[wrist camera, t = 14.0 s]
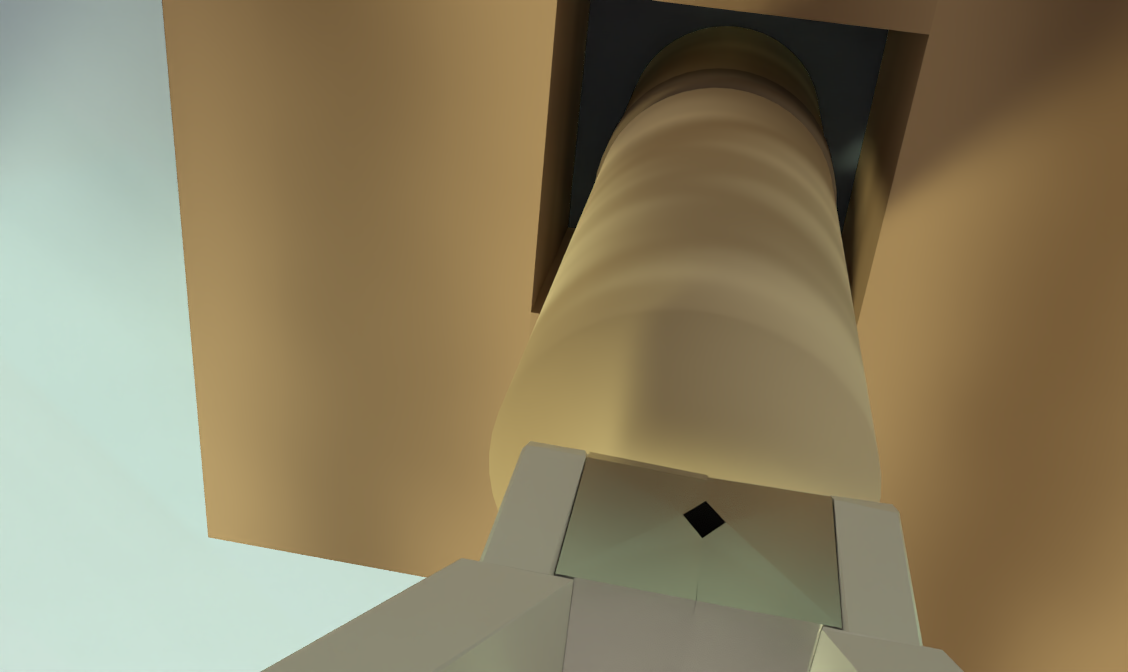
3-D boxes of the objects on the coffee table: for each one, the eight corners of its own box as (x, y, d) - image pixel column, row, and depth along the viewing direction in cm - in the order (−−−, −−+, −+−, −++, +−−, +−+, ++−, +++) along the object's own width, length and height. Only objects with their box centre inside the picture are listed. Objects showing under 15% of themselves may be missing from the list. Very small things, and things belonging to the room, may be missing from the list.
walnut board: (1454, -417, 15) (1663, -477, 12) (1062, 567, 24) (1113, 703, 20) (245, -511, 17) (110, -588, 13) (284, 433, 26) (208, 537, 22)
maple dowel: (841, 36, 19) (932, 340, 9) (801, 226, 21) (839, 668, 11) (638, 11, 20) (495, 274, 9) (615, 199, 21) (474, 600, 11)
